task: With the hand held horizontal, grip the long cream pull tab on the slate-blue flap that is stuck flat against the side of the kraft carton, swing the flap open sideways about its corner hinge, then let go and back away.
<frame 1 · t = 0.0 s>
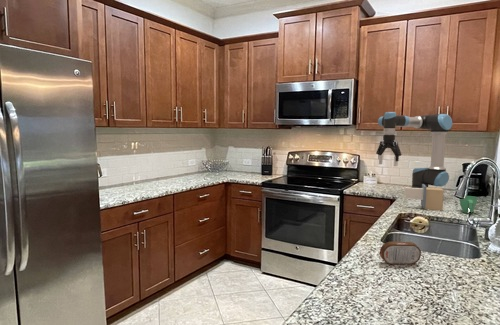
hand: (387, 165, 231), 28 cm above the worktop, tool pointing down, fingers open, 13 cm apart
tin: (400, 264, 127), on the worktop
mug: (468, 213, 209), on the worktop
flap: (414, 195, 224), point 8 cm above the worktop, hinge at 0.0°
carton: (432, 208, 222), on the worktop
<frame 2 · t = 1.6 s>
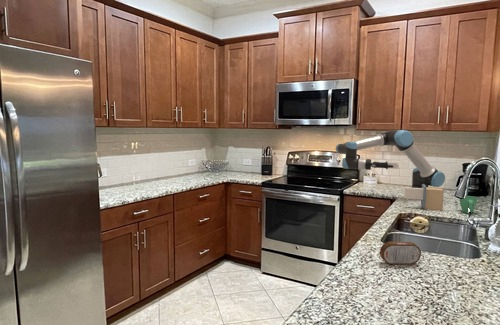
hand: (398, 165, 225), 28 cm above the worktop, tool horizontal, fingers open, 13 cm apart
nothing on the worktop moved.
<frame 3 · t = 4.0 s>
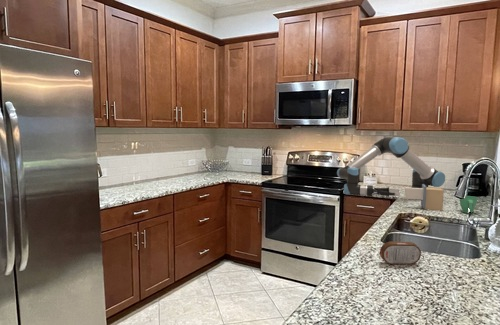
hand: (399, 192, 225), 10 cm above the worktop, tool horizontal, fingers open, 13 cm apart
nothing on the worktop moved.
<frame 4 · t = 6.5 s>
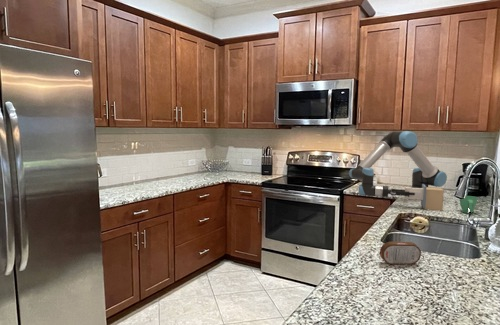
hand: (419, 193, 221), 10 cm above the worktop, tool horizontal, fingers closed on flap, 3 cm apart
flap: (414, 195, 224), point 8 cm above the worktop, hinge at -0.1°, touching gripper
everything else where it was.
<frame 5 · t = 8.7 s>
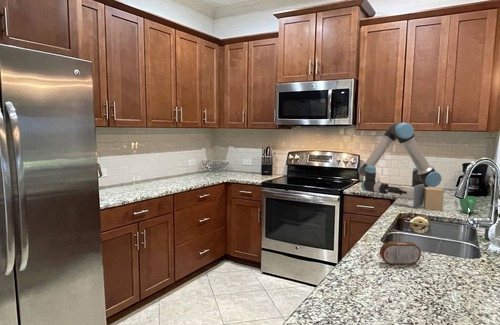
hand: (413, 192, 224), 10 cm above the worktop, tool horizontal, fingers closed on flap, 4 cm apart
flap: (410, 194, 228), point 8 cm above the worktop, hinge at 28.9°, touching gripper
everything else where it was.
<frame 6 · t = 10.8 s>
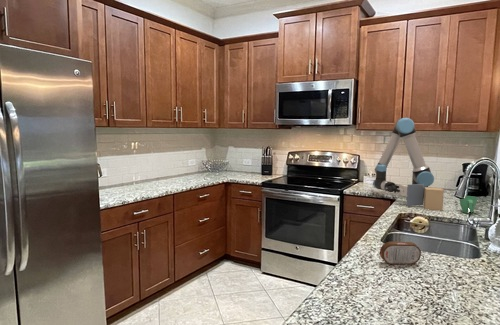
hand: (409, 191, 229), 10 cm above the worktop, tool horizontal, fingers open, 8 cm apart
flap: (410, 193, 232), point 8 cm above the worktop, hinge at 55.0°
everything else where it was.
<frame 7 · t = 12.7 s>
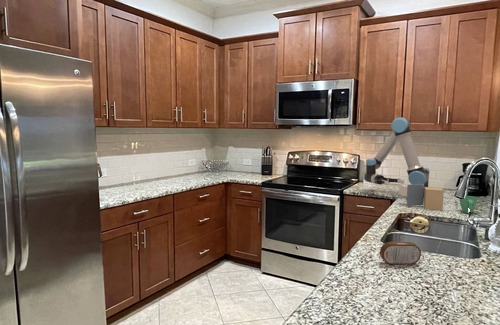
hand: (395, 182, 242), 14 cm above the worktop, tool horizontal, fingers open, 13 cm apart
nothing on the worktop moved.
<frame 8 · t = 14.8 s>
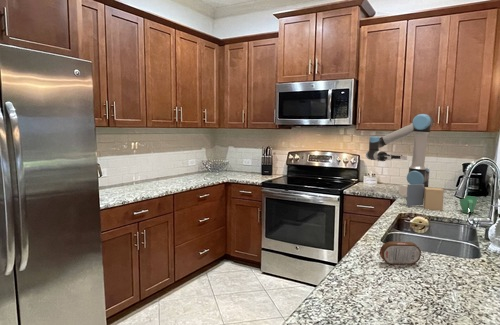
hand: (398, 158, 243), 32 cm above the worktop, tool horizontal, fingers open, 13 cm apart
nothing on the worktop moved.
at the end: flap at +55° (first picture: +0°); the gripper is holding nothing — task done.
